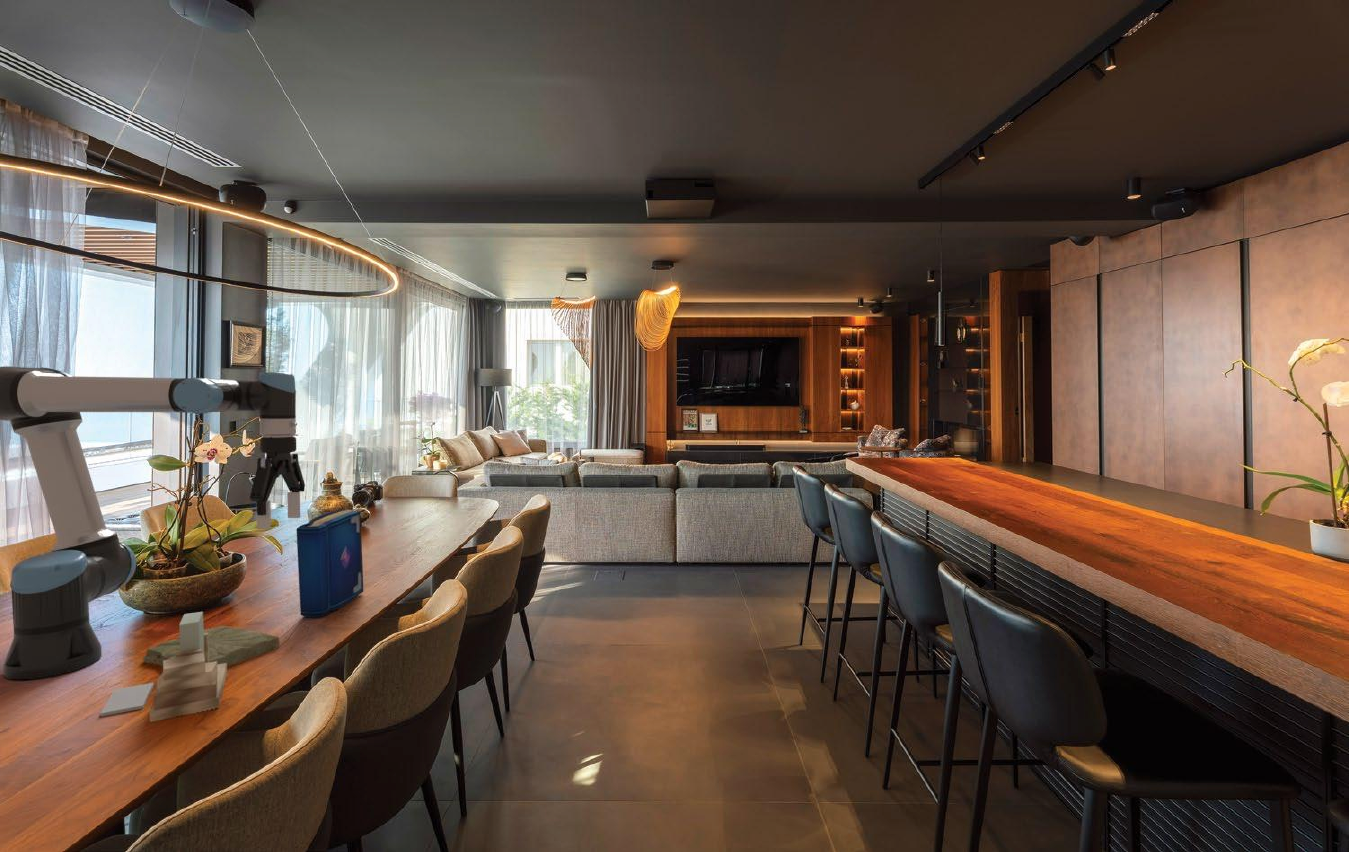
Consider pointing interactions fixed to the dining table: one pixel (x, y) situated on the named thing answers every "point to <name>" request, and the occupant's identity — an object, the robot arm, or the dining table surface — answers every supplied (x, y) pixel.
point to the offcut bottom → (184, 696)
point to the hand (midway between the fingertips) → (279, 523)
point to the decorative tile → (220, 646)
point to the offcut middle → (189, 679)
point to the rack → (198, 705)
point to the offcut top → (183, 666)
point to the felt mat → (127, 699)
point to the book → (329, 562)
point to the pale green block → (191, 632)
